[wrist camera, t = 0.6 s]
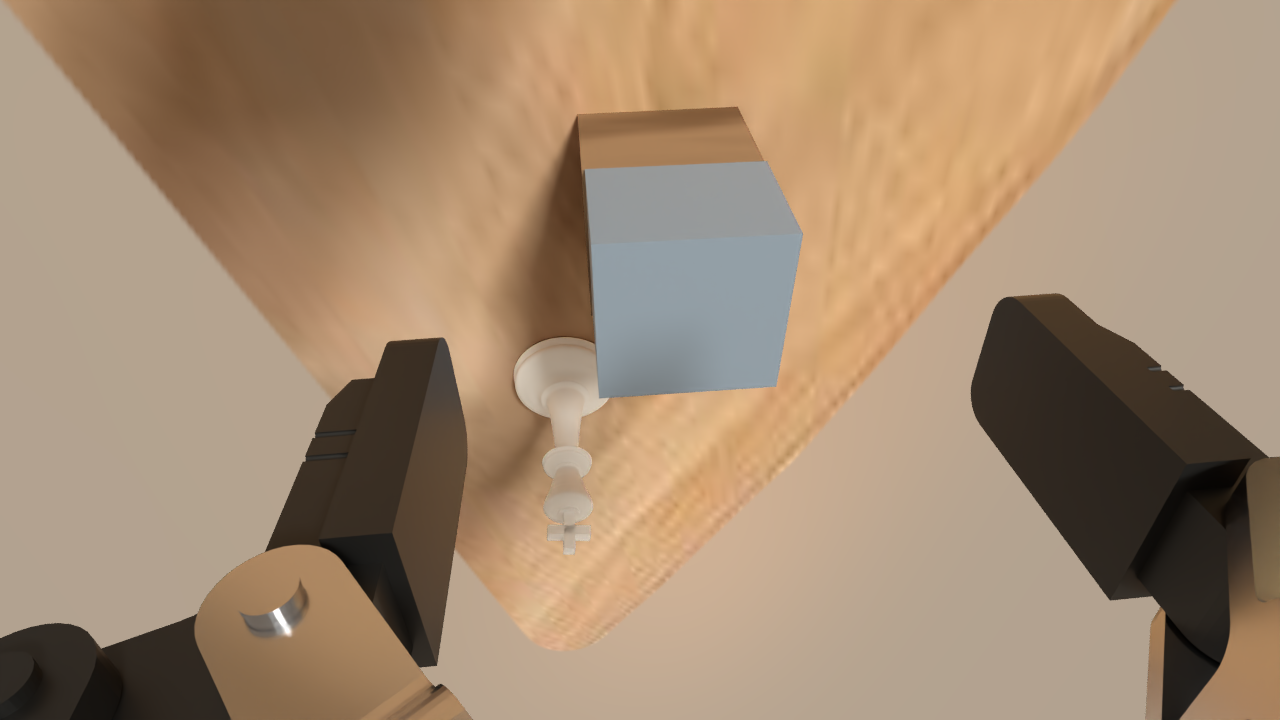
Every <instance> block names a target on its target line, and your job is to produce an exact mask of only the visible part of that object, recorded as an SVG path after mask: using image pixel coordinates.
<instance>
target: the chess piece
mask: <svg viewBox="0 0 1280 720" xmlns="http://www.w3.org/2000/svg"><path fill="white" fill-rule="evenodd" d="M514 382H515V389H516V392H517V395H518V397H519V399H520V400H521V401H522V403H523V404H524V405H525V406H526V407H528V408H529V409H530V410H532V411H533V412H535V413H537V414H539V415H542V416H545V417H548V418H550V419H551V424H552V430H553V436H554V443H555V448H553V449H552V450H550V451H548V452H547V453H546V454H545V456H544V457H543V460H542V465H543V468H544V471H545V473H546V474H547V475H548V476H549V477H551V478H552V479H553V481H552V484H551V488H550V490H549V492H548V494H547V496H546V499H545V502H544V506H543V509H544V513H545V514H546V516H547V517H548V518H549V519H551V520H552V521H555V522H557V523H562V524H563V525H548V528H547V541H563V555H575V549H576V544H575V541H590V538H591V525H575V523H577V522H580V521H582V520H584V519H586V518H587V517H588V516H589V515H590V514H591V512H592V510H593V502H592V499H591V496H590V494H589V492H588V491H587V489H586V487H585V485H584V481H583V479H582V477H584V476H585V475H586V474H587V473H588V472H589V470H590V468H591V465H592V458H591V456H590V454H589V453H588V452H587V451H586V450H584V449H583V448H580V447H578V446H579V434H580V425H581V417H583V416H586V415H588V414H591V413H593V412H595V411H596V410H598V409H599V408H601V407H602V406H603V405H604V404H605V403H606V402H607V401H608V399H609V398H599V391H598V377H597V364H596V351H595V344H594V343H592V342H589V341H586V340H583V339H579V338H573V337H558V338H552V339H548V340H544V341H541V342H539V343H537V344H535V345H533V346H532V347H530V348H529V349H527V350H526V351H525V352H524V353H523V354H522V355H521V356H520V358H519V359H518V361H517V363H516V365H515V368H514Z"/></svg>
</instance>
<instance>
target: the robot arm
mask: <svg viewBox="0 0 1280 720" xmlns="http://www.w3.org/2000/svg"><path fill="white" fill-rule="evenodd" d="M971 401H972V407H973V411H974V414H975V416H976V418H977V420H978V422H979V424H980V425H981V427H982V428H983V429H984V431H985V432H986V433H987V435H988V436H989V437H990V439H991V440H992V441H993V443H994V444H995V445H996V447H997V448H998V450H999V451H1000V452H1001V454H1002V455H1003V456H1004V458H1005V459H1006V460H1007V462H1008V463H1009V465H1010V466H1011V467H1012V468H1013V470H1014V471H1015V473H1016V474H1017V475H1018V477H1019V478H1020V479H1021V481H1022V482H1023V483H1024V485H1025V486H1026V487H1027V489H1028V490H1029V491H1030V493H1031V494H1032V496H1033V497H1034V498H1035V500H1036V501H1037V502H1038V504H1039V505H1040V506H1041V508H1042V509H1043V510H1044V512H1045V513H1046V515H1047V516H1048V517H1049V519H1050V520H1051V521H1052V523H1053V524H1054V525H1055V527H1056V528H1057V529H1058V530H1059V532H1060V534H1061V535H1062V536H1063V537H1064V539H1065V540H1066V541H1067V543H1068V544H1069V546H1070V547H1071V548H1072V549H1073V551H1074V552H1075V554H1076V555H1077V556H1078V558H1079V559H1080V561H1081V562H1082V563H1083V565H1084V566H1085V567H1086V569H1087V570H1088V571H1089V573H1090V574H1091V575H1092V577H1093V578H1094V579H1095V581H1096V582H1097V583H1098V585H1099V586H1100V588H1101V589H1102V590H1103V592H1104V593H1105V594H1106V596H1107V597H1108V598H1109V600H1118V599H1129V598H1139V597H1148V596H1153V598H1154V599H1155V600H1156V601H1157V603H1158V604H1159V605H1160V606H1161V607H1160V608H1159V610H1158V612H1157V613H1156V615H1155V617H1154V618H1153V620H1152V622H1151V627H1150V643H1149V661H1148V679H1147V697H1146V716H1145V720H1280V457H1268V456H1267V455H1265V454H1264V453H1263V452H1262V451H1261V450H1260V449H1258V448H1257V447H1256V446H1255V445H1254V444H1252V443H1251V442H1250V441H1249V440H1247V438H1245V437H1244V436H1243V435H1242V434H1241V433H1240V432H1238V431H1237V430H1236V429H1235V428H1234V427H1233V426H1231V425H1230V424H1229V423H1228V422H1227V421H1225V420H1224V419H1223V418H1222V417H1221V416H1220V415H1218V414H1217V413H1216V412H1215V411H1214V410H1213V409H1211V408H1210V407H1209V406H1208V405H1207V404H1205V403H1204V402H1203V401H1202V400H1201V399H1200V398H1198V397H1197V396H1196V395H1195V394H1194V393H1192V392H1191V391H1190V390H1184V388H1183V384H1182V383H1181V382H1179V381H1178V380H1177V379H1176V378H1175V377H1174V376H1172V375H1171V374H1170V373H1169V372H1168V371H1161V365H1160V364H1158V363H1157V362H1156V361H1155V360H1154V359H1152V358H1151V357H1150V356H1149V355H1148V354H1147V353H1145V352H1144V351H1143V350H1142V349H1141V348H1139V347H1138V346H1137V345H1136V344H1135V343H1133V342H1131V341H1129V340H1127V339H1125V338H1123V337H1121V336H1119V335H1117V334H1116V333H1113V332H1112V331H1110V330H1107V329H1106V328H1103V327H1102V326H1100V325H1098V324H1096V323H1095V322H1094V321H1093V320H1092V319H1091V318H1090V317H1088V316H1087V315H1086V314H1085V313H1084V312H1083V311H1082V310H1080V309H1079V308H1078V307H1077V306H1076V305H1075V304H1074V303H1072V302H1071V301H1070V300H1069V299H1068V298H1066V297H1065V296H1064V295H1061V294H1056V293H1055V294H1042V295H1028V296H1014V297H1006V298H1003V299H1002V300H1000V301H999V302H998V304H997V305H996V307H995V309H994V311H993V314H992V317H991V321H990V324H989V327H988V331H987V334H986V337H985V340H984V344H983V347H982V350H981V354H980V357H979V360H978V364H977V367H976V370H975V374H974V377H973V380H972V385H971ZM315 435H316V436H315V438H313V439H312V441H311V444H310V446H309V448H308V451H307V453H306V456H305V457H306V462H303V463H302V465H301V467H300V470H299V472H298V475H297V477H296V479H295V482H294V484H293V486H292V489H291V491H290V494H289V496H288V499H287V501H286V503H285V506H284V508H283V510H282V513H281V515H280V517H279V520H278V522H277V525H276V527H275V529H274V532H273V534H272V537H271V539H270V541H269V544H268V546H267V549H266V551H265V552H264V553H261V554H259V555H257V556H255V557H253V558H251V559H249V560H247V561H245V562H244V563H242V564H241V565H239V566H237V567H236V568H235V569H233V570H232V571H231V572H229V573H228V574H227V575H226V576H224V577H223V578H222V579H221V580H220V581H219V582H218V583H217V584H216V585H215V586H214V588H213V589H212V590H211V591H210V593H209V594H208V595H207V597H206V598H205V600H204V601H203V603H202V604H201V607H200V609H199V612H198V614H196V615H194V616H192V617H189V618H187V619H184V620H182V621H180V622H177V623H174V624H171V625H168V626H165V627H162V628H159V629H156V630H154V631H151V632H148V633H145V634H142V635H139V636H137V637H134V638H131V639H128V640H125V641H122V642H119V643H116V644H114V645H111V646H108V647H105V648H102V649H101V648H100V647H99V646H98V644H97V643H96V642H95V640H94V639H93V638H92V637H91V636H90V634H89V633H88V632H87V631H85V630H84V629H82V628H80V627H77V626H74V625H71V624H61V623H55V624H44V625H39V626H34V627H30V628H27V629H23V630H20V631H17V632H14V633H12V634H10V635H7V636H5V637H2V638H0V720H473V719H472V718H471V716H470V715H469V714H468V712H467V711H466V710H465V708H464V707H463V706H462V704H461V703H460V702H459V701H458V699H457V698H456V697H455V696H454V695H453V694H452V692H450V690H449V689H447V688H446V687H445V686H444V685H442V684H440V685H438V686H436V687H435V686H434V685H432V683H431V682H430V681H429V680H428V679H427V677H426V676H425V675H424V673H423V672H422V671H421V669H420V668H419V667H429V666H437V662H438V655H439V648H440V642H441V635H442V628H443V622H444V615H445V608H446V601H447V595H448V588H449V581H450V574H451V568H452V561H453V554H454V548H455V541H456V534H457V527H458V521H459V514H460V507H461V500H462V494H463V487H464V480H465V474H466V467H467V433H466V426H465V420H464V415H463V411H462V406H461V402H460V397H459V393H458V388H457V384H456V379H455V375H454V370H453V366H452V361H451V357H450V352H449V348H448V345H447V343H446V341H445V339H444V338H428V339H415V340H401V341H390V342H388V343H387V345H386V347H385V350H384V352H383V355H382V358H381V361H380V364H379V367H378V370H377V373H376V375H375V378H371V379H358V380H352V381H351V382H350V383H348V384H347V385H346V386H345V387H344V388H343V389H342V390H341V391H340V392H339V393H338V394H337V395H336V396H335V397H334V398H333V399H332V400H331V401H330V402H329V403H328V404H327V405H326V408H325V410H324V412H323V415H322V417H321V420H320V422H319V424H318V427H317V429H316V432H315Z"/></svg>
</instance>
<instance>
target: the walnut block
mask: <svg viewBox="0 0 1280 720" xmlns="http://www.w3.org/2000/svg"><path fill="white" fill-rule="evenodd" d="M577 116H578V131H579V146H580V160H581V175H582V190H583V204H584V219H585V234H586V249H587V262H588V276H589V289H590V303H591V316H593V310H592V292H591V273H590V255H589V237H588V219H587V200H586V182H585V169H598V168H621V167H644V166H667V165H689V164H712V163H735V162H758V161H764V160H763V158H762V156H761V153H760V151H759V149H758V147H757V145H756V143H755V141H754V139H753V137H752V135H751V133H750V131H749V129H748V127H747V125H746V123H745V121H744V119H743V117H742V115H741V113H740V111H739V109H738V107H726V108H705V109H683V110H662V111H641V112H619V113H598V114H577Z"/></svg>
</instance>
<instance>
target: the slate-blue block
mask: <svg viewBox="0 0 1280 720" xmlns="http://www.w3.org/2000/svg"><path fill="white" fill-rule="evenodd" d="M585 182H586V200H587V219H588V237H589V255H590V273H591V292H592V310H593V325H594V338H595V351H596V364H597V377H598V391H599V398H614V397H629V396H643V395H658V394H673V393H688V392H703V391H718V390H733V389H748V388H763V387H776V385H777V379H778V373H779V367H780V362H781V356H782V350H783V345H784V339H785V333H786V328H787V322H788V316H789V310H790V305H791V299H792V293H793V288H794V282H795V276H796V271H797V265H798V259H799V253H800V248H801V242H802V236H803V233H802V231H801V229H800V227H799V225H798V223H797V221H796V219H795V217H794V215H793V213H792V211H791V209H790V207H789V205H788V202H787V200H786V198H785V196H784V194H783V192H782V190H781V188H780V186H779V184H778V182H777V180H776V178H775V176H774V174H773V172H772V170H771V168H770V166H769V164H768V162H767V161H758V162H735V163H712V164H689V165H667V166H644V167H621V168H598V169H585Z"/></svg>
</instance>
